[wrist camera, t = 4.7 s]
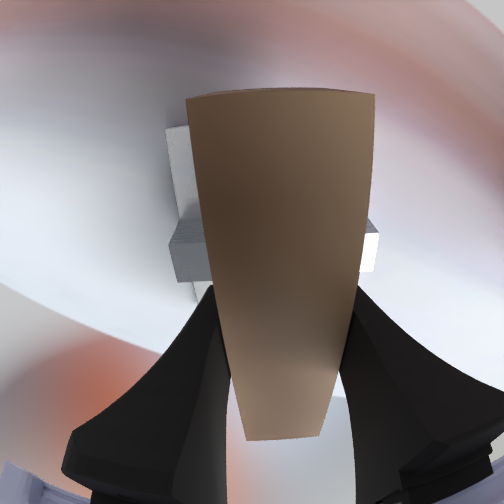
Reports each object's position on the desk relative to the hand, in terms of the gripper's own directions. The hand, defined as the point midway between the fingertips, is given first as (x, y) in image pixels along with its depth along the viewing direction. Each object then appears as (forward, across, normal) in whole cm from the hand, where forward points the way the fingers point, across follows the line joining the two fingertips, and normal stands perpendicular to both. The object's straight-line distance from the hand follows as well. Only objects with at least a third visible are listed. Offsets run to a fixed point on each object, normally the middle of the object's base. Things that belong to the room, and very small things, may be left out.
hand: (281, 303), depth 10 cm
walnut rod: (+3, 0, 0) cm, 3 cm away
